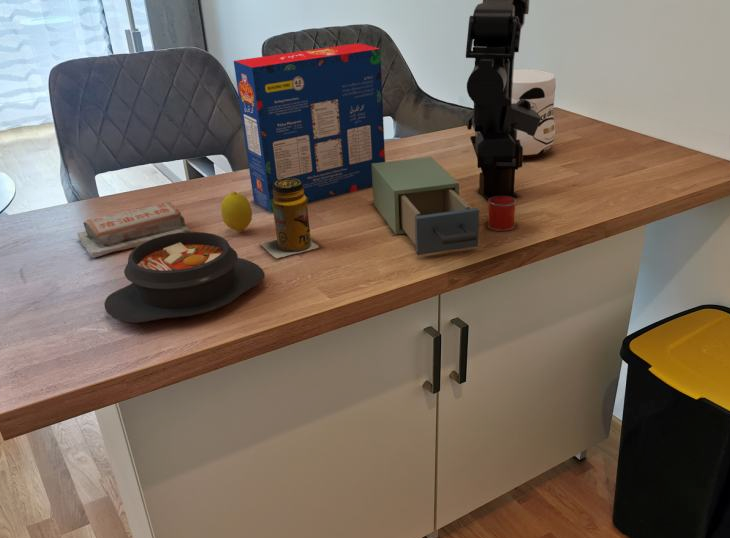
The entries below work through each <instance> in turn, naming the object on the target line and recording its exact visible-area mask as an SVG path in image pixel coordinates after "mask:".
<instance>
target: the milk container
mask: <svg viewBox="0 0 730 538" xmlns="http://www.w3.org/2000/svg"><path fill="white" fill-rule="evenodd" d="M555 91H556V75H554V74H553V73H552V72H549V71H545V70H540V69H532V68H531V69H530V68H514V70H513V86H512V104H513V103H515V104H516V103H517V102H518V101H519V100H520V99H525V100H527V101H529V102H530V104H531V110H535V112H537V113H538V114H539V115H540V117H541V121H540V123H539V126H538V128H537V130H536V133H535V135H534V136H531V135H528V134H527V133H526V132H523V131H520V130H517V140H520V143H521V146H522V147H523V159H525V158H535V157H539V156H542V155H544V154H546V153H548V152H550V151H551V150H552V148H553V146H554V143H555V138H556V124H555V118H554V107H555V106H554V105H555V97H556V94H555Z"/></svg>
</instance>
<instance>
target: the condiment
mask: <svg viewBox="0 0 730 538" xmlns="http://www.w3.org/2000/svg"><path fill="white" fill-rule="evenodd" d="M272 187H273V195H274V197H273V199H272V205H273V220H274V227H275V234H276V239H275V240H271V241H266V242H265V241H264V242H261V243H260V245H261V246H262V247H263V249H265V251H267V252H268V253H269V254H270V255H271V256H273V258H275V259H280V258H284V257H286V256H291V255H295V254H301V253H304V252H309V251H313V250H317V249H319V248H320V246H319V245H318V244H316V243H315V242H313V241H312V239H311V229H310V220H309V219H310V218H309V210H308V203H307V200H306V196H305V195H304V190H303V184H302V182H301V181H300V180H298V179H293V178H292V179H291V178H288V179H281V180H277V181H276V182H274V184H273V186H272Z"/></svg>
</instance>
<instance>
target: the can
mask: <svg viewBox="0 0 730 538" xmlns="http://www.w3.org/2000/svg"><path fill="white" fill-rule="evenodd" d="M516 202H517V200H516V198H515V197H510V196H504V195H499V196H493V197H491V198H489V200H488V210H487V211H488V214H487V215H488V216H487V220H488V221H487V227H488V228H489V229H490V230H492V231H496V232H508V231H511V230H513V229H515V217H516Z"/></svg>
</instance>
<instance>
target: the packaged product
mask: <svg viewBox="0 0 730 538" xmlns="http://www.w3.org/2000/svg"><path fill="white" fill-rule="evenodd" d="M83 226H84V229H85V230H84V231H80V232H77V237H78V240H79V241H80V243H81V244H82V246H84V248H85V249H86V251H87V253H88V254H89V255H90V256H91V257H92V258H93V259H95V258H98V257H102V256H105V255H108V254H111V253H115V252H120V251H125V250H128V249H132V248H133V249H134V248H136V247H137V246H139V245H141V244H143V243H144V242H147V241H149V240H151V239H154V238H157V237H161V236H165V235H169V234H175V233H184V232H191V230H190V228H189V227H188V226H187V225H186V223H185V218H184V216H183V215H182V212H181V210H179V209H178V207H176V206H175V204H174V203H172V202H170V201H168V202H167V201H166V202H161V203H157V204H153V205H147V206H142V207H138V208H134V209H129V210H124V211H120V212H115V213H111V214H106V215H102V216H101V215H100V216H97V217H92V218H89V219H86V220H85V221H83Z"/></svg>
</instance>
